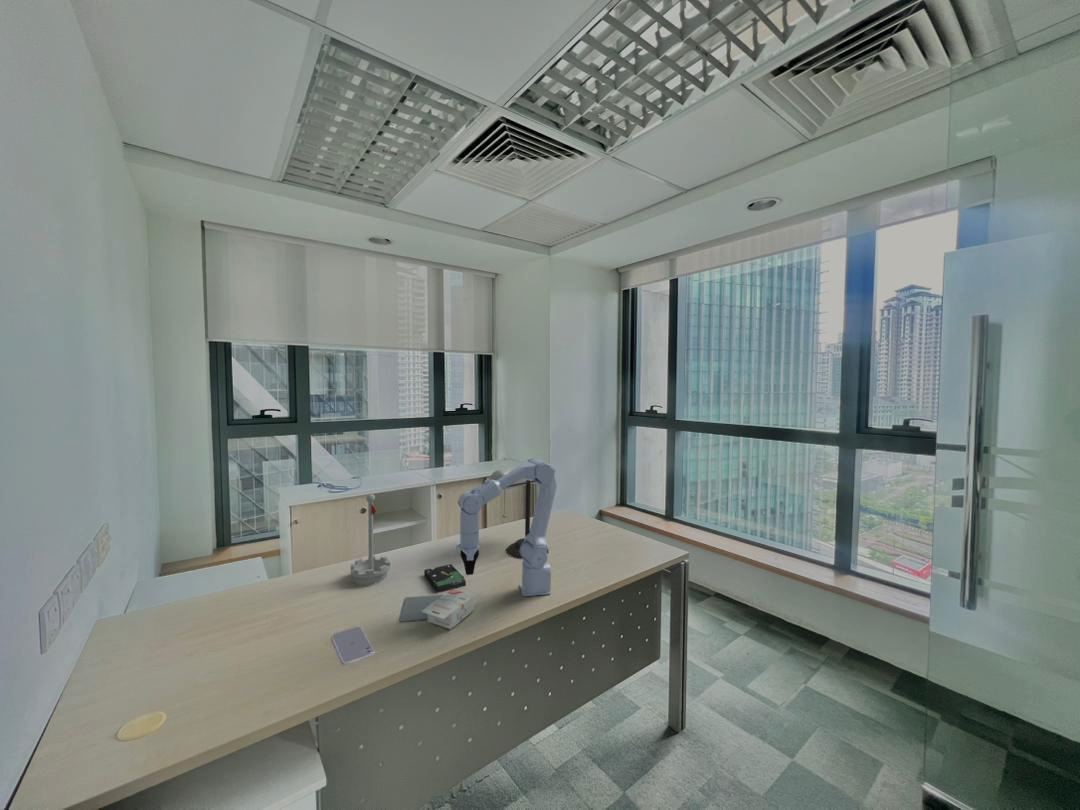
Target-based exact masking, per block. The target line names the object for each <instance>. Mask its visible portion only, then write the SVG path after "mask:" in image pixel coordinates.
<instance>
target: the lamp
mask: <svg viewBox="0 0 1080 810" xmlns="http://www.w3.org/2000/svg"><path fill="white" fill-rule="evenodd" d="M517 467H518V466H513V467H506V468H500V469H496V470H494V471H493V472H492V473H491V475H490V477H489V479H488V480H491V479H492V480H498V479H500V478H501V477H503V476H504V475H506V474H507V473H509V472H510V471H512V470H514V469H515V468H517ZM535 484H537V483H536V482H535V480H532V479H521V480H519V481H517V482H516V483H514V484H512V485H510V486H508V487H506V488H504V489H503V491H504V493H503V497H504V499H503V500H504V501H503V516H502V518H506V509H505V508H506V507H505V506H506V504H505V503H506V490H509V489H510V490H511V489H514V488H519V487H520V488H521V487H524V486H525V513H524V514H525V515H524V516H525V517H524V518H525V519H524V520H525V521H524V522H525V523H524V527H525V528H524V531H525V532H524V538H519V539H517V540H516V541H514V542H513V543H510V544H509V546H506V548H507V549H506V548H505V552H506V551H507V553H508V554H509V555H508V554H507V553H506V554H507V555H508V556H510V555H511V556H510V557H512V556H513V557H512V558H514V557H517V558H516V559H519V558H522V559H521V560H523V557H522V556H521V555H520V546H521V545H522V543H523V542H524V539H525V536H526V535H528V534H529V533H530V528H531V485H535ZM548 551H549V547H547V553H548V554H549V552H548Z"/></svg>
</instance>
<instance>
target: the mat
mask: <svg viewBox="0 0 1080 810" xmlns="http://www.w3.org/2000/svg"><path fill="white" fill-rule="evenodd" d="M443 595H444V594H435V595H422V596H421V595H420V596H409V597H408V596H406V597H405V598H404V601H403V605H402V611H401V614H400V617H399V618H400V619H399V623H408V622H409V623H411V622H419V621H420V622H421V621H428V614H426V613H423V612H422V610H424V609H425V608H426V607H427V606H428V605H430V604H431V603H433V602H434V601H436V600H437V599H439V598H440V597H442V596H443Z"/></svg>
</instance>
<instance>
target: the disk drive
mask: <svg viewBox="0 0 1080 810" xmlns="http://www.w3.org/2000/svg"><path fill="white" fill-rule="evenodd" d="M423 571H424V572H423V573H424V574H423V575H424V578H425V577H426V578H425V579H426V580H427V581H428V583H429V584H430V585H431V587H433V589H434V591H435V592H436V593H437V594H438V593H442V592H446V591H450V590H452V589H453V590H455V589H458V587H459V588H462V586H463V587H466V586H467V583H466V582H467V581H466V580H465V577H464V576H463V575H462V574H461V573H460V572H459V571H458V570H457V568H455V567H454V565H453V564H452V563H450V564H446V565H441V566H436V567H435V568H433V569H431V568H427V569H424V570H423ZM454 588H455V589H454Z"/></svg>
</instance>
